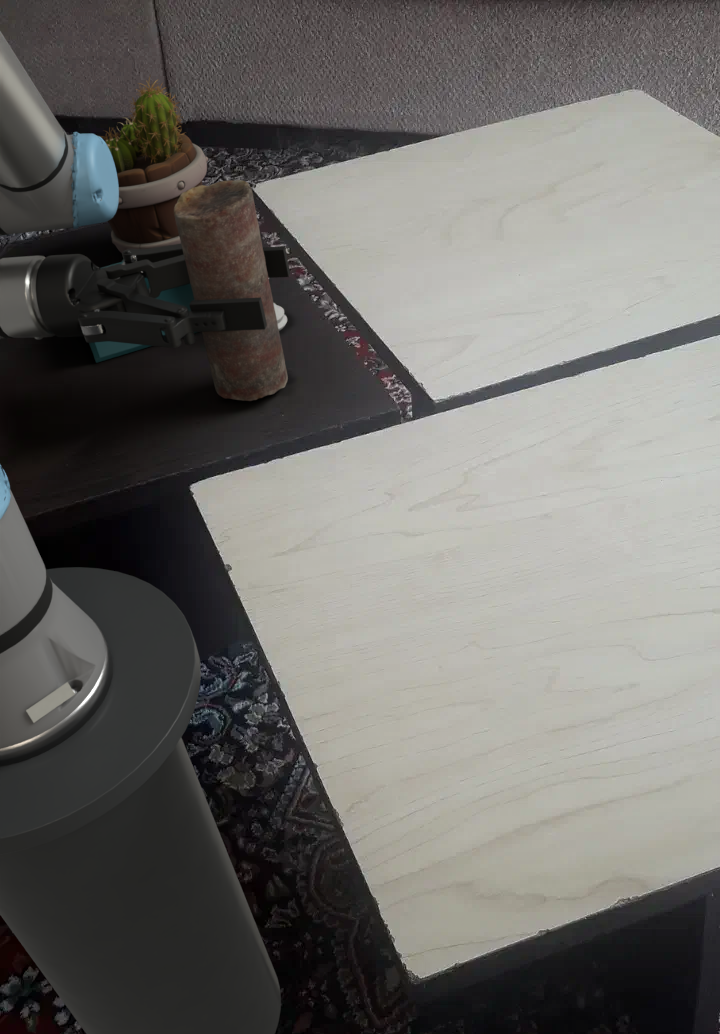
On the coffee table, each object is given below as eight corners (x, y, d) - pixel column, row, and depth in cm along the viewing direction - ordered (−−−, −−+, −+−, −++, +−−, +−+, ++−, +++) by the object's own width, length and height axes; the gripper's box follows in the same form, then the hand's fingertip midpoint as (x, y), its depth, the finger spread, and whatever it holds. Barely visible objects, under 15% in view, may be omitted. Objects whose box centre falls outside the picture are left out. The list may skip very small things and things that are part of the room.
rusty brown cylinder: (279, 412, 103) (239, 209, 89) (207, 412, 104) (157, 212, 90) (296, 370, 108) (261, 171, 94) (228, 370, 110) (183, 174, 95)
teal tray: (229, 322, 117) (220, 284, 114) (96, 363, 115) (82, 325, 111) (194, 264, 128) (185, 228, 125) (72, 300, 126) (60, 264, 123)
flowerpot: (84, 273, 131) (27, 102, 117) (147, 217, 140) (101, 53, 126) (185, 281, 126) (138, 102, 112) (243, 222, 135) (207, 51, 121)
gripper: (101, 278, 112) (306, 268, 108) (22, 393, 98) (255, 387, 93) (78, 209, 107) (293, 195, 102) (-9, 319, 92) (237, 308, 88)
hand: (275, 286), depth 98 cm, fingers open, 9 cm apart
